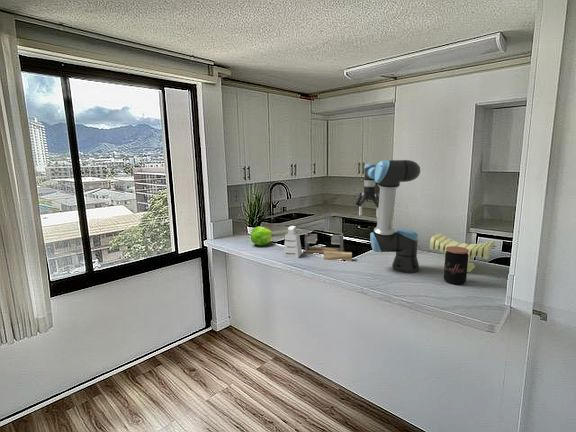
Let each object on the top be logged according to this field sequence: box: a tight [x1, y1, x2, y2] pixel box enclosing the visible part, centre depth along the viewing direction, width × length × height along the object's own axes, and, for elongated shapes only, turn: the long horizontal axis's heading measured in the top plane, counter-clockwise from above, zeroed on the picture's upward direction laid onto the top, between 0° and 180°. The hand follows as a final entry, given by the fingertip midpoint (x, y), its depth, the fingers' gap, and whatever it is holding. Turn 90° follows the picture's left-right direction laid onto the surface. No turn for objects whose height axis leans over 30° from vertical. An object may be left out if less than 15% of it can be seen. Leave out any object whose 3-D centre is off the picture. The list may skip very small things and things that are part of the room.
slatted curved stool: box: [429, 231, 496, 273], centre depth 189 cm, size 30×16×18 cm, turn 47°
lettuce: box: [250, 225, 273, 246], centre depth 248 cm, size 15×20×14 cm
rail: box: [323, 251, 353, 262], centre depth 211 cm, size 4×18×5 cm, turn 75°
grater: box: [282, 225, 303, 259], centre depth 219 cm, size 10×10×20 cm
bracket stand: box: [303, 231, 345, 255], centre depth 227 cm, size 13×27×13 cm, turn 76°
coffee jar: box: [443, 246, 469, 286], centre depth 169 cm, size 11×11×18 cm
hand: (368, 216), depth 228 cm, fingers open, 13 cm apart
